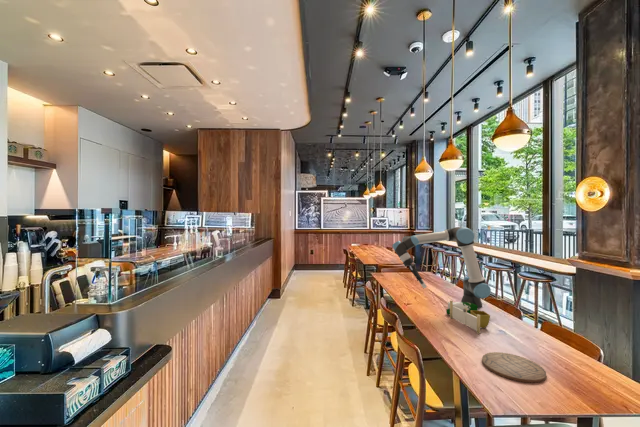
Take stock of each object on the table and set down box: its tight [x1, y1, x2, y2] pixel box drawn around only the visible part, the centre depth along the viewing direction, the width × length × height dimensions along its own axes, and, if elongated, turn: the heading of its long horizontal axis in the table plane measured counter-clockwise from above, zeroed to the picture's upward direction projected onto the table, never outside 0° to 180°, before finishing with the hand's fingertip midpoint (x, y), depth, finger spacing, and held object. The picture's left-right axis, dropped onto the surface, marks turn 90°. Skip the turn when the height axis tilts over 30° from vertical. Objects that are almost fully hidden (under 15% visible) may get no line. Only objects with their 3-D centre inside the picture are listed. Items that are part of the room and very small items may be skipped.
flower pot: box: [470, 310, 491, 329], centre depth 187 cm, size 9×9×9 cm
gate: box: [453, 306, 467, 326], centre depth 194 cm, size 13×2×10 cm, turn 10°
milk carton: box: [445, 301, 479, 316], centre depth 209 cm, size 9×9×20 cm
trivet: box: [481, 351, 547, 384], centre depth 135 cm, size 25×25×2 cm
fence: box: [449, 300, 481, 335], centre depth 189 cm, size 28×3×12 cm, turn 10°
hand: (425, 287), depth 211 cm, fingers closed
